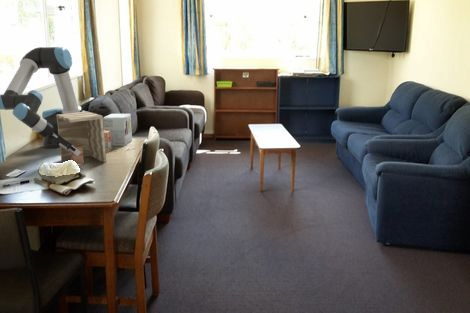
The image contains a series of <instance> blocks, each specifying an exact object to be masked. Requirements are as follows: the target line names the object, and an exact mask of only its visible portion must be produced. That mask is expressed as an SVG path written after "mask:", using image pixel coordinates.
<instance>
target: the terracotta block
mask: <svg viewBox="0 0 470 313" xmlns="http://www.w3.org/2000/svg"><path fill="white" fill-rule="evenodd" d="M73 146H74V147H75V148H77V149H78V150H79V151H80V152H81V153H80V154H79V155H78V156H77V155H75V154H74V153H73V152H71V151H70V155H71V159H70V161H71V160H73V161H75V162H76V163H77V164H81V165H84V164H85V162H84V161H85V160H84V157H83V148H82V146H81V145H79V144H78V145H73Z"/></svg>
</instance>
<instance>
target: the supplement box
mask: <svg viewBox="0 0 470 313" xmlns="http://www.w3.org/2000/svg"><path fill="white" fill-rule="evenodd" d="M131 115H132V114H131V113H110V114H108V115H105V116H104V117H103V128H104V130H105V131H110V132H111V146H113V147H115V146H117V147H122V146H123V147H125V146H126V145H128V144H130V143H131V142H132V141H133V134H132V133H133V131H132V116H131Z"/></svg>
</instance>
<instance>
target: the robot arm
mask: <svg viewBox="0 0 470 313" xmlns="http://www.w3.org/2000/svg"><path fill="white" fill-rule="evenodd" d="M72 60H73V59H72V54H71V52H70V51H69V50H68V49H67V48H66V47H63V46H61V47H60V46H53V47H49V46H48V47H47V46H45V47H42V46H41V47H40V46H39V47H36V48H34V49H31V50H30V51H28V52H26V53H25V55H24V56H23V57H22V58H21V60H20V62H19V67H18V69H17V70H16V73H15V74H14V76H13V77H12V79H11V81H10V82H9V84H8V86H7V87H6V90H4V93H3V94H0V110H5V111H7V110H12V115H13V116H14V117H15V118H16V119H17V120H18V121H20V122H22V123H23V124H25V125H26V126H27V127H29V128H30V129H31V131H32V132H33V131H34V132H35V133H37V134H38V135H39V136H41V137H42V138H43V139H42V143H41V145H42V148H44V149H57V148H58V149H60V146H62V147H63V148H64V149H66V150H67V151H68V152H69V150H70V151H71V152H73V153H74V154H75V155H77V156H78V155H79V154H80V153H81V152H80V151H79V150H78V149H77V148H75V147H74V146H73V145H72V144H70V143H69V142H67V141H66V140H65V139H63V138H62V137H61V136H60V135H59V134H58V124H57V115H59V114H68V113H78V112H87V111H86V110H82V106H80V105H79V104H78V102H77V97H76V94H75V91H74V90H75V89H74V86H73V83H72V79H71V76H70V73H69V72H70V70H71V67H72V65H73V61H72ZM40 69H48V72H49V73H50V75H52V76H53V78H54V82H55V84H56V87H57V88H56V89H57V91H58V95H59V98H60V101H61V105H62V108H61V107H57V108H50V109H46V110H43V111H42V113H41V115H39V114H38V111H39V109H40V107H41V105H42V103H43V99H44V97H43V94H42V93H41V92H40V91H39V90H36V89H34V90H33V89H32V90H30V91H28V93H27V94H23V93H24V91H25V90H26V88H27V86H28V84H29V82H30V80H31V79H32V76H33V75H34V74H35V73H37V72H38V70H40Z"/></svg>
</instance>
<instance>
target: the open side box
mask: <svg viewBox="0 0 470 313" xmlns="http://www.w3.org/2000/svg"><path fill="white" fill-rule="evenodd" d="M103 118H104V117H103V115H101V114H98V113H95V112H90V111H86V112H78V113H68V114H59V115H57V124H58V134H59V135H60V136H61V137H62V138H63V139H65V140H66V141H67V142H69V143H70V144H72V145H78V144H79V145H81V146H82V148H83V158H86V157H85V156H87V157H91V158H93V157H94V159H95V160H97V161H100V162H102V163H107V156H106V155H107V154H106V153H107V152H105V140H104V122H103ZM59 151H60V152H59V153H60V160H61V161H68V160H67V159H69V160H71V155H70V150H69V152H68V151H67V150H66V149H64V148H63V147H62V146H60V147H59Z"/></svg>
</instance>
